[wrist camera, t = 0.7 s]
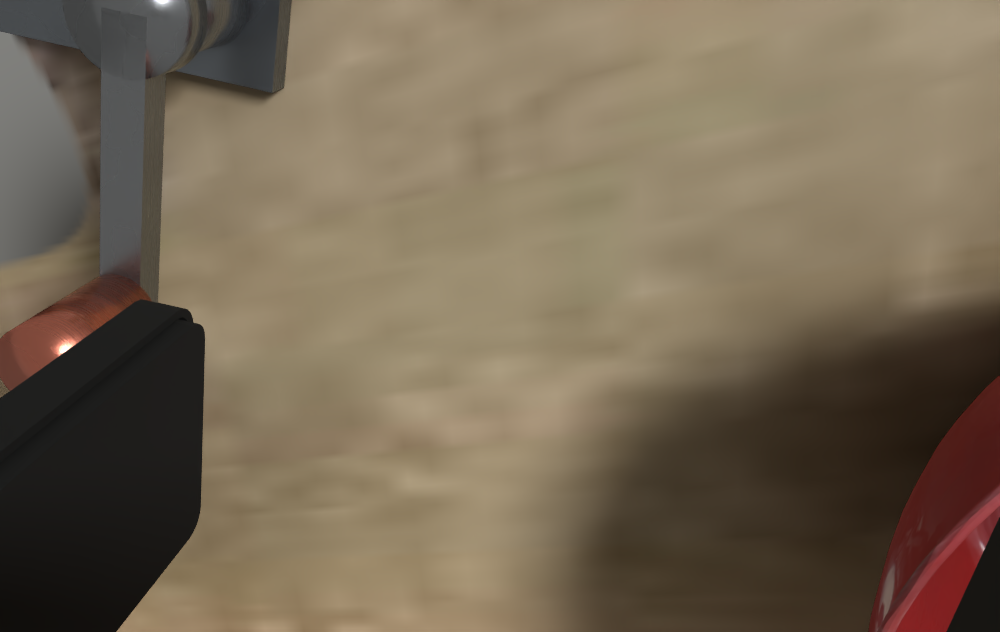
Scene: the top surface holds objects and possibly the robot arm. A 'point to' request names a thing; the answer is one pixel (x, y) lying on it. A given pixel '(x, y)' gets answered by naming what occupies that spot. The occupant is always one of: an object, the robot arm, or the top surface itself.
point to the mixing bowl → (944, 525)
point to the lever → (117, 167)
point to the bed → (223, 55)
